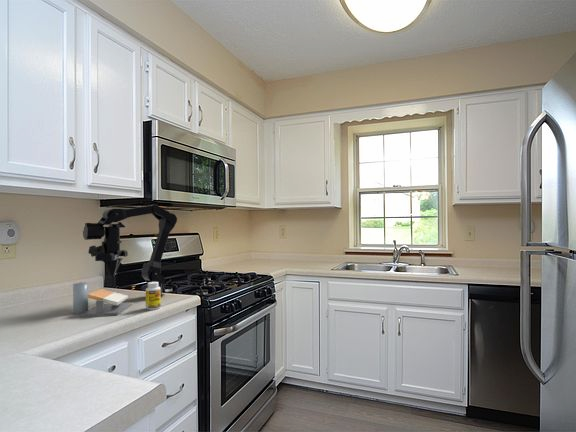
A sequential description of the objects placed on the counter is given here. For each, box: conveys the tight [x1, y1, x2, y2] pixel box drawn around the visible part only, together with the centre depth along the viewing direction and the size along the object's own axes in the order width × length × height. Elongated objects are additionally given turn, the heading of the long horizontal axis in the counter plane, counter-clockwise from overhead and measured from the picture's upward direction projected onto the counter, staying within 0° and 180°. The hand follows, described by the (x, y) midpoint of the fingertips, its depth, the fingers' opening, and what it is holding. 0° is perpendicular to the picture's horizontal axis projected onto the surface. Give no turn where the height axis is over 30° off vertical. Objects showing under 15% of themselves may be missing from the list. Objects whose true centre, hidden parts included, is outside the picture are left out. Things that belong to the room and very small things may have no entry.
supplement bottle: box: [145, 282, 162, 311], centre depth 134 cm, size 6×6×10 cm
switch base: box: [79, 291, 134, 318], centre depth 132 cm, size 16×13×6 cm
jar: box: [72, 281, 89, 315], centre depth 130 cm, size 5×5×11 cm
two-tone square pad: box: [87, 288, 129, 305], centre depth 132 cm, size 12×11×2 cm
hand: (112, 275), depth 141 cm, fingers closed
